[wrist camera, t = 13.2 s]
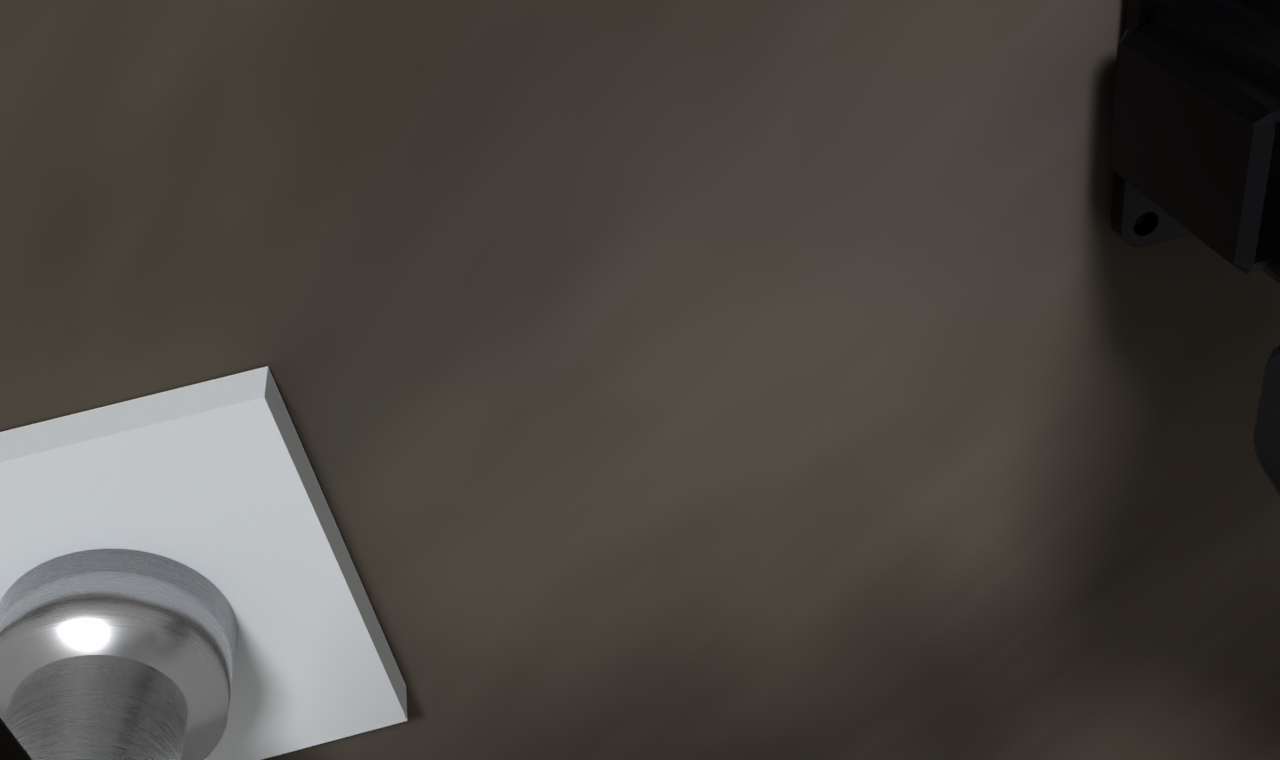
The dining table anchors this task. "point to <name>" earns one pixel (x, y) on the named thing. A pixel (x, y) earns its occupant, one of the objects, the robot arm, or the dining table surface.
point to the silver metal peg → (116, 658)
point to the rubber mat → (216, 546)
